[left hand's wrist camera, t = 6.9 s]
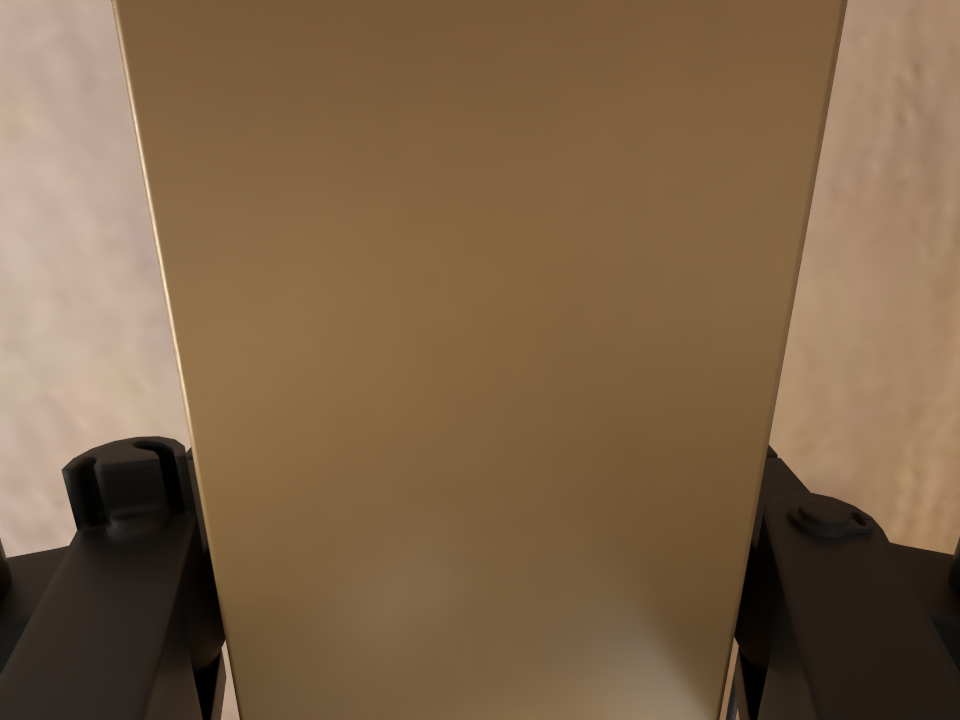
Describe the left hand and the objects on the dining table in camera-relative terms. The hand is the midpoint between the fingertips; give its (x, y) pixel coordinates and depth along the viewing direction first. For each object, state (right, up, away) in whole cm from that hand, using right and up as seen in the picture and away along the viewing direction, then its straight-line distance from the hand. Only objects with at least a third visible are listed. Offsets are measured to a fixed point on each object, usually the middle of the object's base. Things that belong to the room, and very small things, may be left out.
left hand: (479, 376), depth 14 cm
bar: (0, +7, -2) cm, 7 cm away
